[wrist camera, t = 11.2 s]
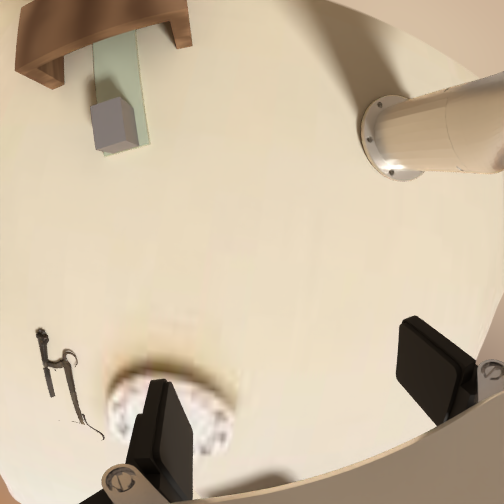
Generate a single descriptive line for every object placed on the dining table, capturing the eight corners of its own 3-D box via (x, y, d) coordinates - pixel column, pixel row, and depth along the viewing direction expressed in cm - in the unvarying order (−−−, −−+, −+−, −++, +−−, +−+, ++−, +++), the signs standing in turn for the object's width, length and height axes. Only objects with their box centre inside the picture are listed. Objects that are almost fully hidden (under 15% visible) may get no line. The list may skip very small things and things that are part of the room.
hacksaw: (37, 325, 38) (33, 330, 36) (93, 340, 39) (90, 345, 38) (59, 428, 43) (57, 433, 41) (106, 441, 44) (104, 447, 43)
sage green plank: (134, 3, 29) (123, -22, 22) (150, 144, 34) (137, 137, 28) (94, 16, 28) (78, -6, 21) (106, 157, 34) (85, 153, 27)
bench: (183, -8, 29) (179, -50, 19) (192, 45, 31) (187, 8, 22) (52, 34, 27) (21, 7, 18) (52, 89, 30) (14, 70, 20)
